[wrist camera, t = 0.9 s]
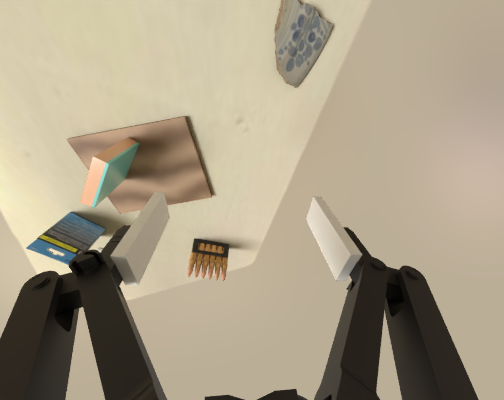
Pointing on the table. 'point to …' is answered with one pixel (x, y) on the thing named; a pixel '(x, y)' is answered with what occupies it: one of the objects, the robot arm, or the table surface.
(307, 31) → the ceramic fragment
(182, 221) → the table surface
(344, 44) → the table surface
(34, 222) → the table surface
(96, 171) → the tile
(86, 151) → the board
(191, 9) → the table surface
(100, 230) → the label tape box
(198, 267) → the ammunition clip
